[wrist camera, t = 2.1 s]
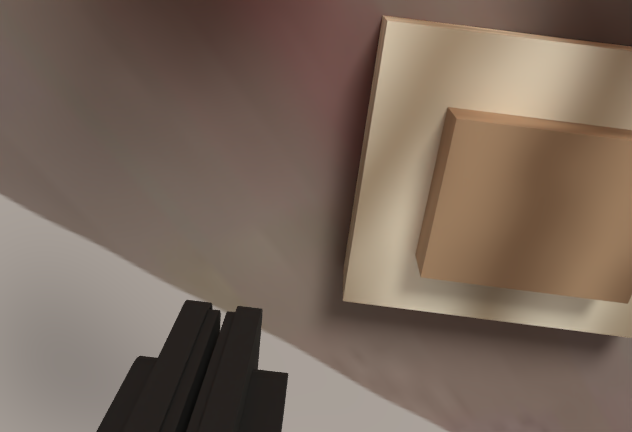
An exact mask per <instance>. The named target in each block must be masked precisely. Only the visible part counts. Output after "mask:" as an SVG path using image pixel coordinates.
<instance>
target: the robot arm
mask: <svg viewBox="0 0 632 432" xmlns="http://www.w3.org/2000/svg"><path fill="white" fill-rule="evenodd" d="M220 317H221V313H220V310H212V303H209V302H200V301H192V300H186V301H185V303H184V305H183V307H182V309H181V311H180V313H179V315H178V317H177V319H176V321H175V323H174V325H173V327H172V330H171V332H170V334H169V336H168V338H167V340H166V342H165V344H164V346H163V349H162V351H161V353H160V355H159V357H158V358H154V357H145V356H139V357H138V358H137V359H136V360H135V361H134V363H133V365H132V366H131V368H130V370H129V372H128V374H127V376H126V378H125V380H124V381H123V383H122V385H121V387H120V389H119V391H118V393H117V394H116V396H115V398H114V400H113V402H112V404H111V406H110V408H109V409H108V411H107V413H106V415H105V417H104V419H103V421H102V422H101V424H100V426H99V428H98V430H97V432H281V429H282V422H283V414H284V406H285V397H286V389H287V380H288V373H282V372H273V371H264V370H258V359H259V347H260V336H261V324H262V309H259V308H251V307H243V306H238V307H237V309H236V312H227V313H226V316H225V319H224V322H223V325H222V327H221V330H220Z"/></svg>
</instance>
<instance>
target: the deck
mask: <svg viewBox="0 0 632 432" xmlns="http://www.w3.org/2000/svg"><path fill="white" fill-rule="evenodd" d="M448 107H453V108H461V109H469V110H477V111H484V112H492V113H500V114H508V115H516V116H524V117H532V118H540V119H548V120H556V121H564V122H572V123H580V124H588V125H596V126H604V127H612V128H620V129H628V130H632V47H631V46H623V45H615V44H607V43H599V42H591V41H583V40H575V39H567V38H559V37H551V36H543V35H535V34H527V33H519V32H511V31H503V30H495V29H487V28H479V27H471V26H463V25H454V24H446V23H438V22H430V21H422V20H414V19H406V18H398V17H390V16H383V17H382V23H381V30H380V36H379V43H378V49H377V56H376V62H375V69H374V75H373V81H372V88H371V94H370V101H369V107H368V114H367V120H366V127H365V133H364V139H363V146H362V152H361V159H360V165H359V172H358V178H357V184H356V191H355V197H354V204H353V210H352V217H351V223H350V230H349V236H348V242H347V249H346V255H345V262H344V268H343V301H347V302H355V303H362V304H370V305H378V306H386V307H394V308H402V309H409V310H417V311H425V312H433V313H441V314H449V315H456V316H464V317H472V318H480V319H488V320H496V321H503V322H511V323H519V324H527V325H535V326H543V327H550V328H558V329H566V330H574V331H582V332H590V333H597V334H605V335H613V336H621V337H629V338H632V296H631V298H630V300H629V303H628V304H625V303H617V302H609V301H602V300H594V299H586V298H578V297H570V296H562V295H554V294H547V293H539V292H531V291H523V290H515V289H507V288H499V287H492V286H484V285H476V284H468V283H460V282H452V281H445V280H437V279H429V278H421V277H420V273H419V269H418V265H417V260H416V256H415V254H416V250H417V245H418V241H419V236H420V231H421V227H422V222H423V218H424V213H425V208H426V204H427V199H428V195H429V190H430V186H431V181H432V176H433V172H434V167H435V163H436V158H437V153H438V149H439V144H440V140H441V135H442V130H443V126H444V121H445V117H446V112H447V108H448Z"/></svg>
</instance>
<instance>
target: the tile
mask: <svg viewBox="0 0 632 432" xmlns="http://www.w3.org/2000/svg"><path fill="white" fill-rule="evenodd" d="M415 256H416V260H417V265H418V269H419V273H420V277H421V278H429V279H437V280H445V281H452V282H460V283H468V284H476V285H484V286H492V287H499V288H507V289H515V290H523V291H531V292H539V293H547V294H554V295H562V296H570V297H578V298H586V299H594V300H602V301H609V302H617V303H625V304H628V303H629V300H630V298H631V296H632V130H628V129H620V128H612V127H604V126H596V125H588V124H580V123H572V122H564V121H556V120H548V119H540V118H532V117H524V116H516V115H508V114H500V113H492V112H484V111H477V110H469V109H461V108H453V107H448V108H447V112H446V117H445V121H444V126H443V130H442V135H441V140H440V144H439V149H438V153H437V158H436V163H435V167H434V172H433V176H432V181H431V186H430V190H429V195H428V199H427V204H426V208H425V213H424V218H423V222H422V227H421V231H420V236H419V241H418V245H417V250H416V254H415Z"/></svg>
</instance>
